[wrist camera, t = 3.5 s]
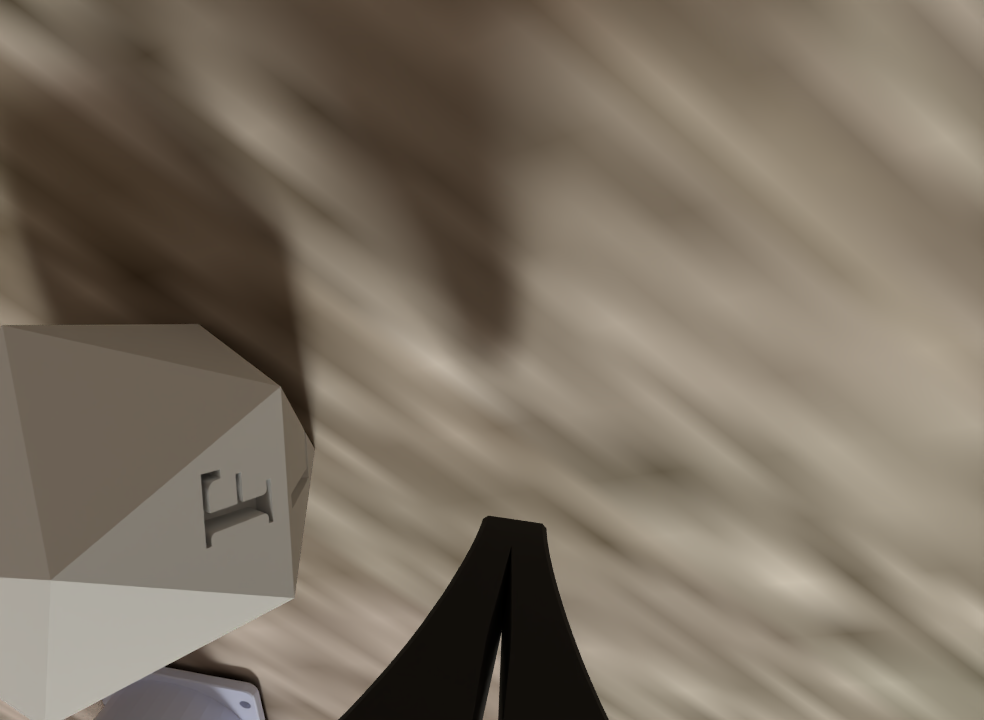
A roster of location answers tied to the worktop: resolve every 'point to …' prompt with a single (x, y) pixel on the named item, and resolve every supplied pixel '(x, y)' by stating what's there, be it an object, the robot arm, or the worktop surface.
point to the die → (136, 505)
